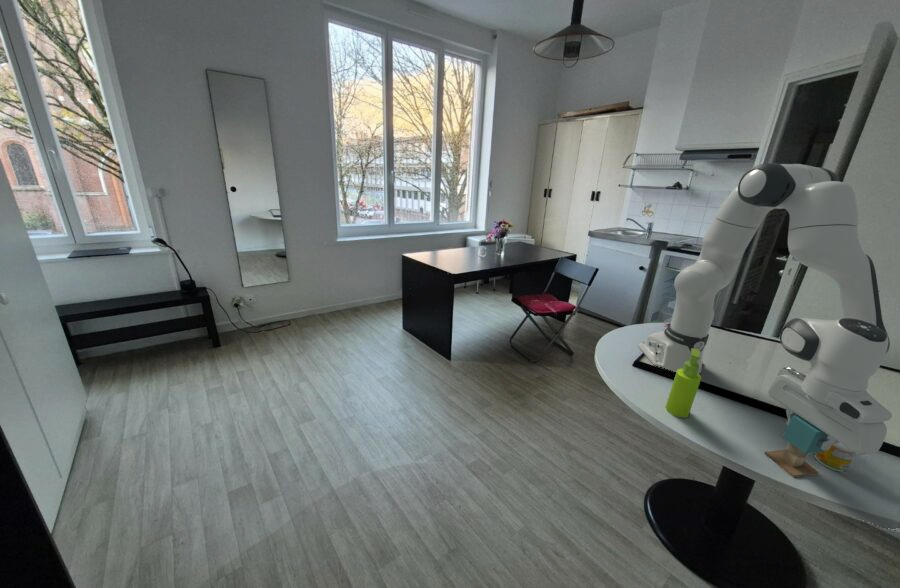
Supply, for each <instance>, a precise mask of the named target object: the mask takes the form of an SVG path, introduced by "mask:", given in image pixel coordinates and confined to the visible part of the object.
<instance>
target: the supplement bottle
mask: <svg viewBox="0 0 900 588" xmlns="http://www.w3.org/2000/svg"><path fill="white" fill-rule="evenodd" d="M856 455H857V453H855V452H853V451H852V450H850V449H849V448H847V447H846V446H844V445H843V444H841V443H837V444H833V445H832V446H831V447H830V449H829V450H825V452H818V453H815V455H814V456H815V460H817V461H818V463H819V464H821V465H823V466H824V467H826V468H828V469H830V470H833V471H835V472H836V471H837V472H844V471H846V470H847V469H848V468H849V466H850V464H851V462H852V461H853V459H854V458H855V456H856Z"/></svg>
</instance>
